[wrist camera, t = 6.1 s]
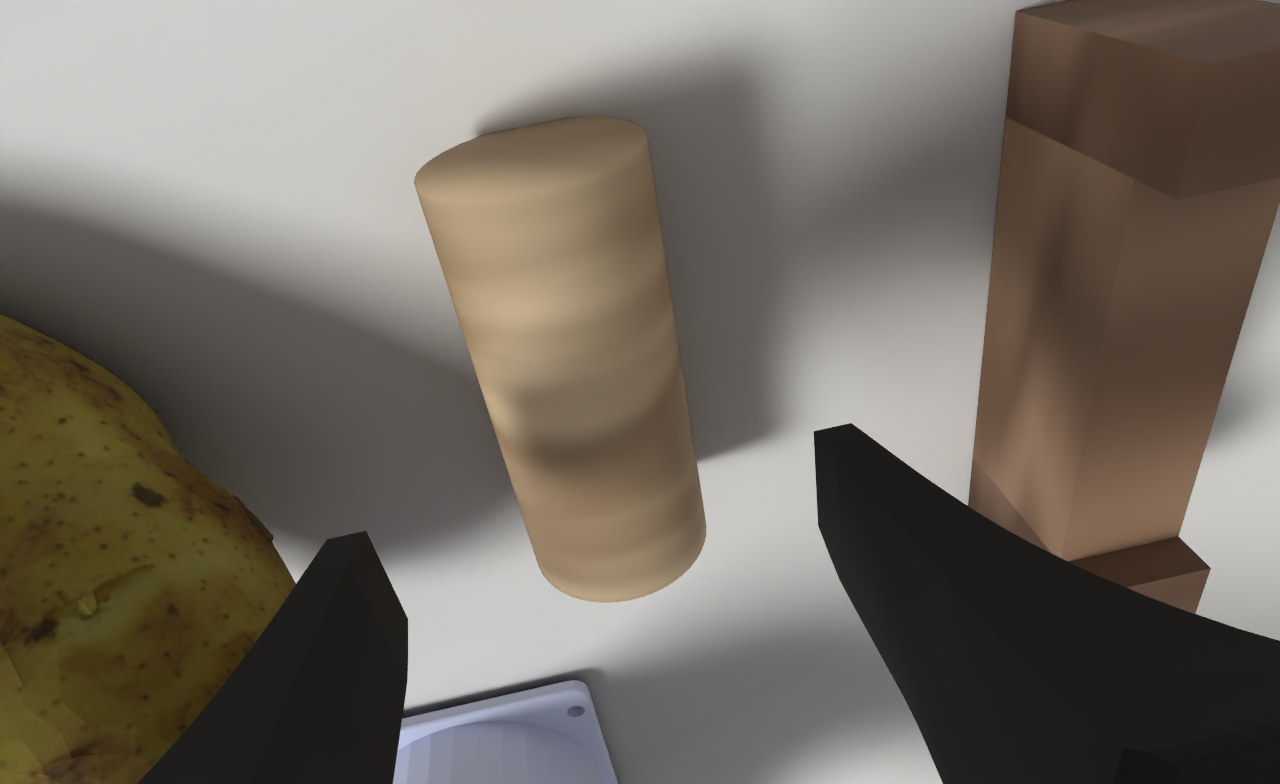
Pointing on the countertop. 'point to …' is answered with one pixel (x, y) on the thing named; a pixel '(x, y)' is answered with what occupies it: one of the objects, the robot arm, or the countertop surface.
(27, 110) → the countertop surface
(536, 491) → the roller
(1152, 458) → the stop rail
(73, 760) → the potato
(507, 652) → the countertop surface
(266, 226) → the countertop surface
